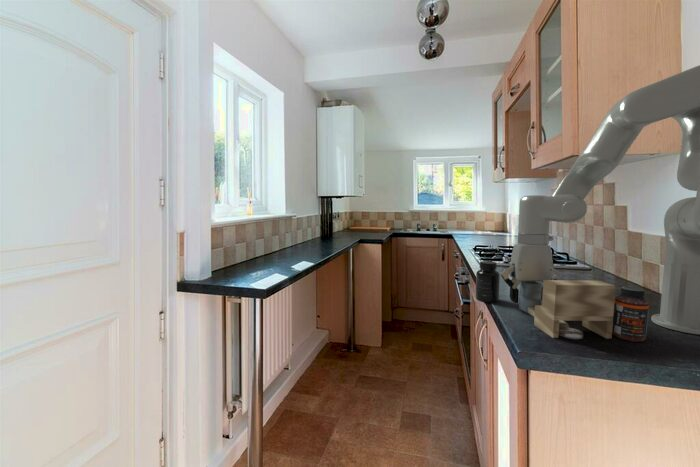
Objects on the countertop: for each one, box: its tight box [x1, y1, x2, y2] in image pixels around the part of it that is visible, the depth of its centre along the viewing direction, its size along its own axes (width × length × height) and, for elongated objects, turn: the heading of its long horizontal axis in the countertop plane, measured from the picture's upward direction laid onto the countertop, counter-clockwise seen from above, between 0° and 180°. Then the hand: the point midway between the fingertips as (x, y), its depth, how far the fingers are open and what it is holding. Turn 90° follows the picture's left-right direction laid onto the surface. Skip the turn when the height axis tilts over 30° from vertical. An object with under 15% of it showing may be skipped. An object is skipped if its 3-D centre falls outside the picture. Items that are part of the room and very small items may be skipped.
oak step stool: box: [533, 279, 616, 339], centre depth 79 cm, size 13×8×12 cm, turn 89°
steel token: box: [559, 326, 584, 340], centre depth 77 cm, size 5×5×1 cm
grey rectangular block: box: [518, 281, 569, 328], centre depth 88 cm, size 4×17×8 cm, turn 179°
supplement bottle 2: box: [612, 286, 650, 343], centre depth 75 cm, size 6×6×11 cm
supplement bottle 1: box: [475, 260, 501, 304], centre depth 105 cm, size 7×7×12 cm
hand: (529, 301), depth 95 cm, fingers open, 8 cm apart
